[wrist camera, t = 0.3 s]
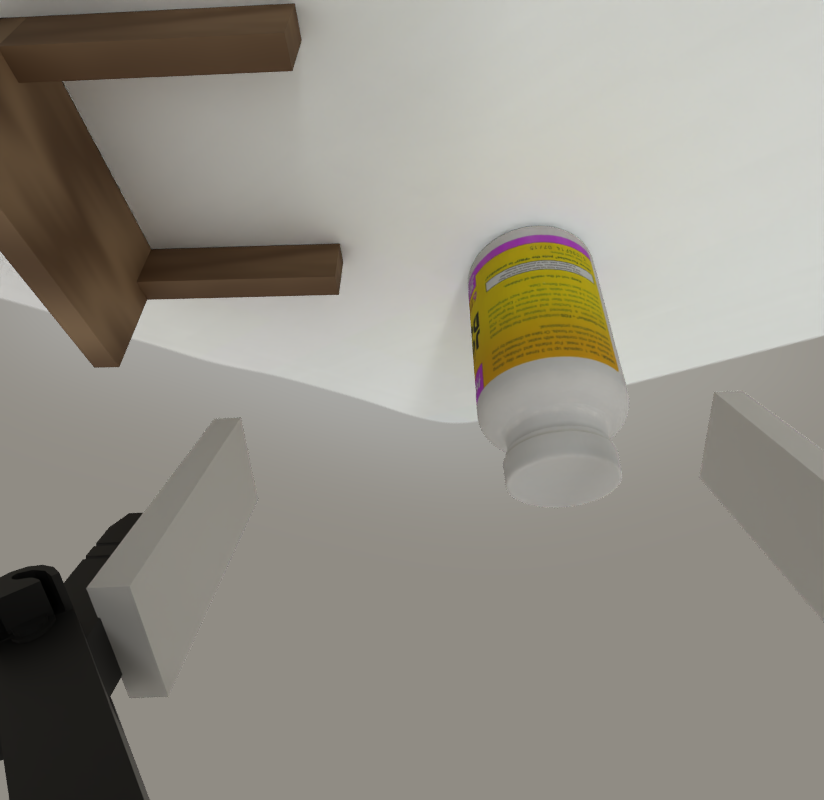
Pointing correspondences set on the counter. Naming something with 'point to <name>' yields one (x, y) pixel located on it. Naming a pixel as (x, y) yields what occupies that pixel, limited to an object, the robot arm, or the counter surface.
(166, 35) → the u-shaped wooden bracket
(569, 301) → the supplement bottle
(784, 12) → the counter surface
